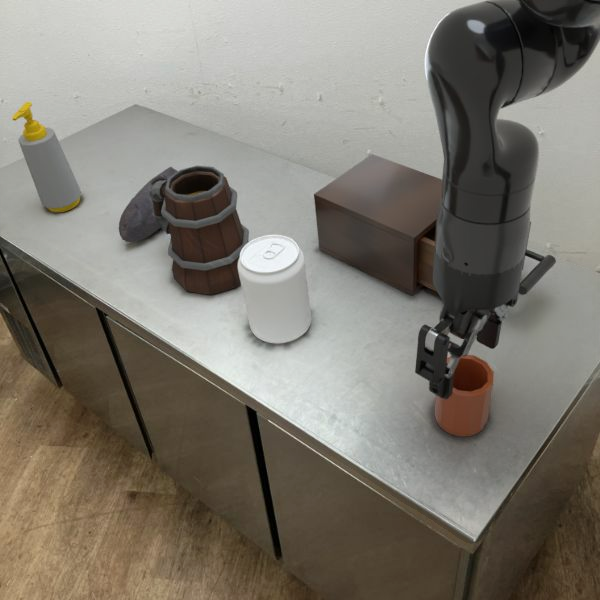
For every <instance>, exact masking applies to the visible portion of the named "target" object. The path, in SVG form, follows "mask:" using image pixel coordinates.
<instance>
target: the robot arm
mask: <svg viewBox="0 0 600 600" xmlns="http://www.w3.org/2000/svg"><path fill="white" fill-rule="evenodd" d="M599 43H600V0H483V1H479V2H476V3H472V4H469V5H468V4H467V5H465V6H462V7H459V8H456V9H453V10H452V11H450V12H448V13H447V14H445V16H443V17H442V18H441V19H440V20H439V22H438V23H437V24H436V26H435V28H434V30H433V31H432V32H431V35H430V37H429V40H428V43H427V47H426V50H425V55H424V75H425V79H426V84H427V88H428V93H429V95H430V96H429V97H430V99H431V103H432V106H433V107H432V108H433V110H434V114H435V117H436V118H435V119H436V124H437V129H438V134H439V139H440V143H441V148H442V154H443V164H442V165H443V166H442V177H441V179H442V191H441V202H440V206H439V210H438V215H437V221H436V235H435V250H434V266H433V283H434V286H435V289H436V290H437V294H438V296H439V297H440V299H441V301H442V303H443V304H442V307H441V309H440V314H439V318H438V322H437V323H436V325H434V326H433V327H431V326H429V325H428V324H426V323H425V324H423V325H421V327H420V329H419V331H418V336H417V337H418V338H417V345H416V346H417V348H416V358H415V368H414V373H415V374H416V375H417V376H420V377H421V378H423V379H425V380H427V381H428V382H429V384H428V385H429V386H428V391H429V392H430V393H432V394H434V395H435V396H436V395H437V396H439V397H441V398H444V399H448V398H449V397H450V396H451V395H452V392H453V383H454V373H455V372H454V371H455V369H456V367H457V365H458V362H459V360H460V358H461V357H464V356H467V355H469V353H470V351H471V349H472V346H473V344H474V342H475V340H476V342H478V343H479V344H480V345H483V346H484V347H487V348H489V349H491V350H494V349H495V348H497V346H498V345H499V341H500V336H501V329H502V324H503V322H504V321H505V320H506V319H507V317H508V313H509V311H508V307H510V308H514V307H515V306H516V305H517V303H518V298H519V294H520V293H519V286H520V282H521V281H522V279H521V278H522V273H523V270H522V267H523V262H524V263H525V261H524V256H525V251H526V246H527V247H528V244H527V240H528V241H529V238H528V235H529V236H530V233H529V228H530V229H531V227H530V222H531V205H532V199H533V193H534V188H535V183H536V177H537V172H538V167H539V161H540V160H539V159H540V145H539V141H538V139H537V136H536V134H535V133H534V132H533V131H532V129H530V128H529V127H527V126H526V125H524V124H523V123H521V122H518V121H514V120H510V119H504V118H498V116H499V114H500V110H501V109H504V108H508V107H510V106H512V105H516V104H518V103H519V104H520V103H522V102H524V101H528V100H531V99H535V98H536V97H537V98H538V97H540V96H542V95H545V94H547V93H550V92H552V91H554V90H556V89H557V88H559V87H561V86H562V85H564V84H565V83H566V82H568V81H569V80H571V79H572V78H573V77H574V76H575V75H577V73H578V72H580V71H581V69H582V68H583V67H584V66H585V65H586V64H587V62H588V61H589V60H590V59H591V57H592V55H593V54H594V53H595V50H596V49H597V47H598V45H599ZM525 257H526V256H525ZM523 268H524V267H523ZM449 334H451V335H453V336H454V337H457V338H459V339H461V340H462V342H461V345H459V344H457V343H455V342H454V341H451V337H450V336H449ZM449 353H450V357H451V358H450V360H449V362H448V363H446V362H447V358H448V354H449Z"/></svg>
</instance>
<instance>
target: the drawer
mask: <svg viewBox="0 0 600 600" xmlns="http://www.w3.org/2000/svg"><path fill="white" fill-rule="evenodd" d="M531 226H532V221H530V228H529V235H528V240H527V246H526V251H525V256H524V262H523V267H522V271H523V270H524V266H525V260H526V257H528V258H529V259H532V260H534V261H537V262H538V264H537V265H535V267H533V269H532V270H531V271H530V272H529V273H528V274H527V275H526V276H525V277H524V278H523V279H521V280H520V286H519V293H518V294H519V295H522V296H524V295H527V294H528V293H529V292H530V291H531V289H533V288H534V286H535V285H537V283H538V282H540V280H541V279H542V278H543V277H544V276H545V275H546V274H547V273H548V272H549V271H550V269H552V267H553V266H555V264H556V262H557V259H556V257H554V256H553V255H552V254H547V255H546V256H544V255H542V254H540V253H537V252H534V251H532V250H530V249H528V243H529V238H530V231H531ZM435 235H436V225H435V226H434V227H433V228H432V229H431V230H429V231H428V232H427V233H426V234H425V235H423V236H422V237H421V238H420V239H419V240H418V259H417V282H418V283H420V284H422V285H424V286H423V287H426V288H428V289H430V290H432V291H434V292H437V290H436V289H435V286H434V283H433V266H434V250H435ZM437 293H438V292H437Z"/></svg>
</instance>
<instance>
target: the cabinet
mask: <svg viewBox="0 0 600 600" xmlns="http://www.w3.org/2000/svg"><path fill="white" fill-rule="evenodd" d="M441 191H442V178H439V177H436V176H434V175H431V174H428V173H426V172H423V171H420V170H417V169H415V168H412V167H409V166H406V165H404V164H401V163H398V162H395V161H393V160H390V159H387V158H384V157H382V156H378V155H376V154H373V153H371V154H370V155H368V156H367V157H365V158H363V160H361V161H359V162H358V163H356V164H355V165H354V166H353V167H351V168H349V169H348V170H347V171H345V172H344V173H342V174H341V175H340V176H338V177H336V178H335V179H333V180H332V181H331V182H330V183H327V184H326V185H325V186H323V187H322V188H320V189H319V190H318V191H316V192H314V194H313V198H314V209H315V210H314V211H315V219H316V231H317V240H318V250H319V251H321V252H322V253H325V254H327V255H329V256H331V257H333V258H335V259H336V260H339V261H340V262H343V263H345V264H347V265H349V266H351V267H353V268H355V269H357V270H359V271H361V272H363V273H365V274H367V275H369V276H371V277H372V278H375V279H377V280H379V281H381V282H384V284H387V285H389V286H392V287H394V288H395V289H397V290H400V291H401V292H403V293H405V294H407V295H410V296H411V297H413V296H415V295H416V294H417V293H418V292H419V291H421V289H422V288H423V287H425V286H424V285H422V284H420V283H418V282H417V259H418V240H419V239H420V238H421V237H422V236H423V235H425V234H426V233H427V232H428V231H429V230H431V229H432V228H433V227H434V226H435V225H436V221H437V215H438V210H439V206H440V202H441Z"/></svg>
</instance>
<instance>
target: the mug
mask: <svg viewBox="0 0 600 600" xmlns="http://www.w3.org/2000/svg"><path fill="white" fill-rule="evenodd" d="M177 171H178V172H176V173H175V174H174V175H172V176H171V177H169V178H168V180H167V181H166V180H164V181H162V180H160V181H158V182H156V183H154V184H153V185H152V187H151V191H150V194H149V197H150V198H151V199H152V201H153V207H154V211H153V214H152V215H153V217H154V219H155V221H156V222H157V224H158V225H159V226H160V227H161V228H160V229H161V230H163V232H164V233H165V234H166V235H170V240H169V244H168V248H167V255H168V256H169V257H170V258H171V259H172V265H171V272H172V275H173V278H174V280H175V281H176V282H177V283H178V284H179V285H180V286H181V287H182V288H183V289H184V290H185V291H186V292H189V293H195V294H196V293H197V294H204V295H211V296H213V295H214V294H219V293H222V292H225V291H229V290H232V289H235V288H238V287H239V286H241V282H240V277H239V272H238V260H239V258H240V252H241V250H242V248H243V247H244V246H245V245H246V244H247V243H248V242H250V241H249V236H250V231H249V229H248V228H247V227H246V226H245V225H243V224H242V222H241V219H240V217H239V213H238V210H237V203H238V191H236V190H235V189H234V188H233V187H231V186H230V185H229V182H228V179H227V177H226V176H225V174H224V173H223V172H221V171H220V170H219V169H217V168H216V167H214V166H209V165H194V166H190V167H185V168H182V169H179V170H177Z"/></svg>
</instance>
